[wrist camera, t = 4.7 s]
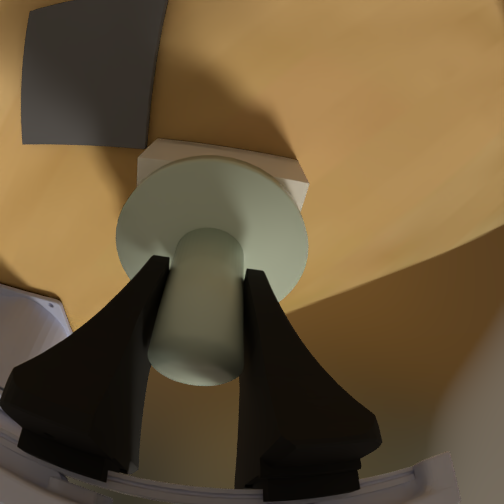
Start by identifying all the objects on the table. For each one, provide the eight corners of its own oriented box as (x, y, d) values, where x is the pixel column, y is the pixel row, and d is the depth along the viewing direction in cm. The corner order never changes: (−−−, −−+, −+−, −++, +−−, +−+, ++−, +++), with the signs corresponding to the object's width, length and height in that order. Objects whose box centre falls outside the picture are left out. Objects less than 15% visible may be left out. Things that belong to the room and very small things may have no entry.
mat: (26, 142, 12) (22, 144, 12) (34, 11, 8) (29, 11, 7) (146, 146, 13) (144, 149, 13) (169, -8, 9) (167, -9, 9)
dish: (152, 252, 17) (139, 286, 15) (157, 138, 13) (137, 157, 11) (266, 268, 18) (270, 304, 16) (297, 160, 14) (309, 183, 12)
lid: (133, 300, 15) (103, 398, 10) (114, 150, 10) (27, 237, 5) (284, 314, 15) (296, 416, 11) (325, 169, 11) (384, 270, 6)
